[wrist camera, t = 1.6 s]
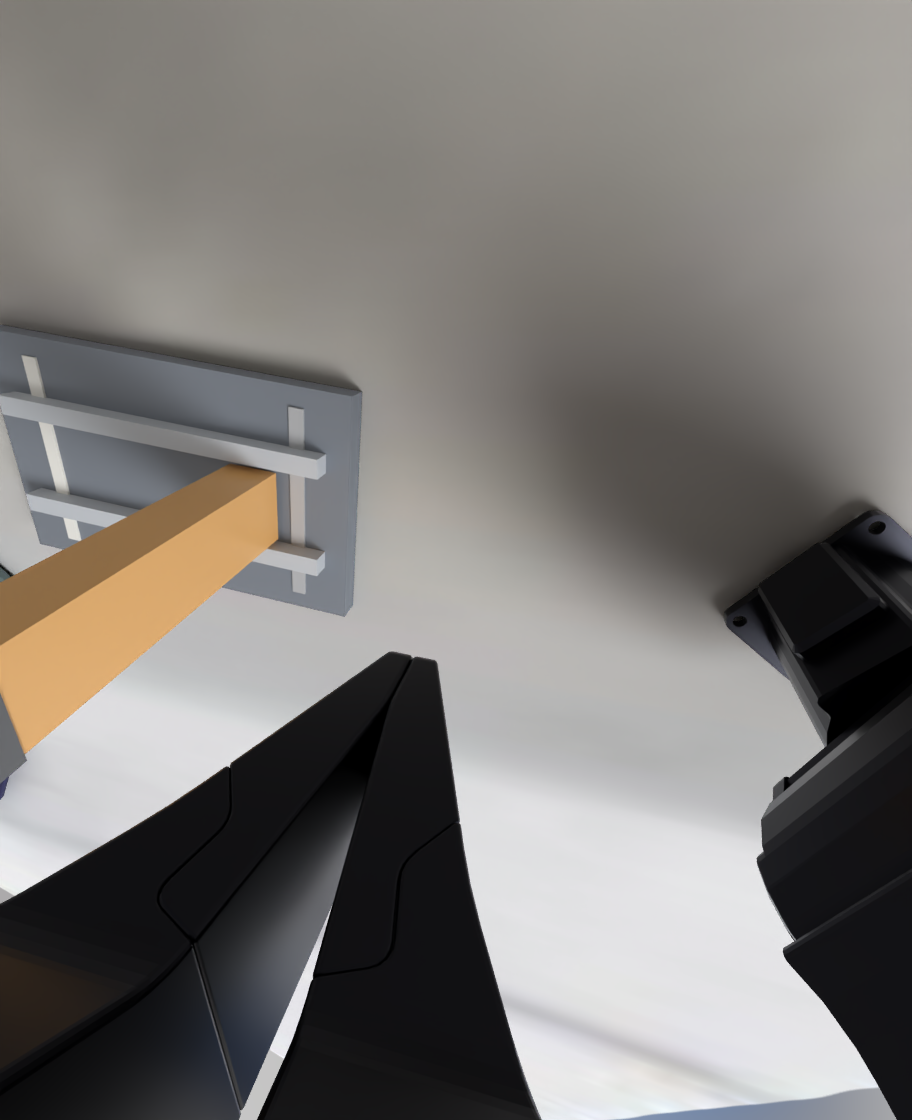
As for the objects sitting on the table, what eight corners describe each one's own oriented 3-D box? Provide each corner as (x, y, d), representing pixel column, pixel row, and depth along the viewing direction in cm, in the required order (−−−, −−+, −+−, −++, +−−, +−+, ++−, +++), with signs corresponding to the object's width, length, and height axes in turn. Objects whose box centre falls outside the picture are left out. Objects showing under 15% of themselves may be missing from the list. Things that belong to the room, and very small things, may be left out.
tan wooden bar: (278, 471, 21) (-68, 687, 10) (280, 541, 23) (-16, 796, 11) (227, 460, 21) (-165, 659, 10) (233, 530, 23) (-101, 770, 12)
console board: (362, 391, 20) (343, 400, 19) (352, 605, 25) (337, 626, 24) (0, 324, 22) (-44, 327, 21) (57, 535, 27) (25, 550, 25)
